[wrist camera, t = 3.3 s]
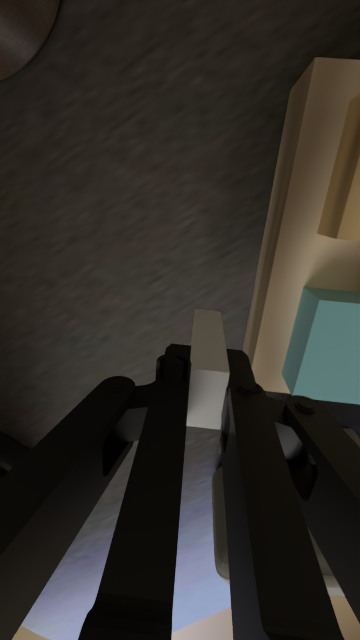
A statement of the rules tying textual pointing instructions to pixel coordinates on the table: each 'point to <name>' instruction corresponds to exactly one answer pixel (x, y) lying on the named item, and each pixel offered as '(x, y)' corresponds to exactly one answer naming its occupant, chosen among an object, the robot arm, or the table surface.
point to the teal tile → (325, 347)
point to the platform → (301, 217)
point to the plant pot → (23, 31)
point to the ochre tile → (345, 183)
